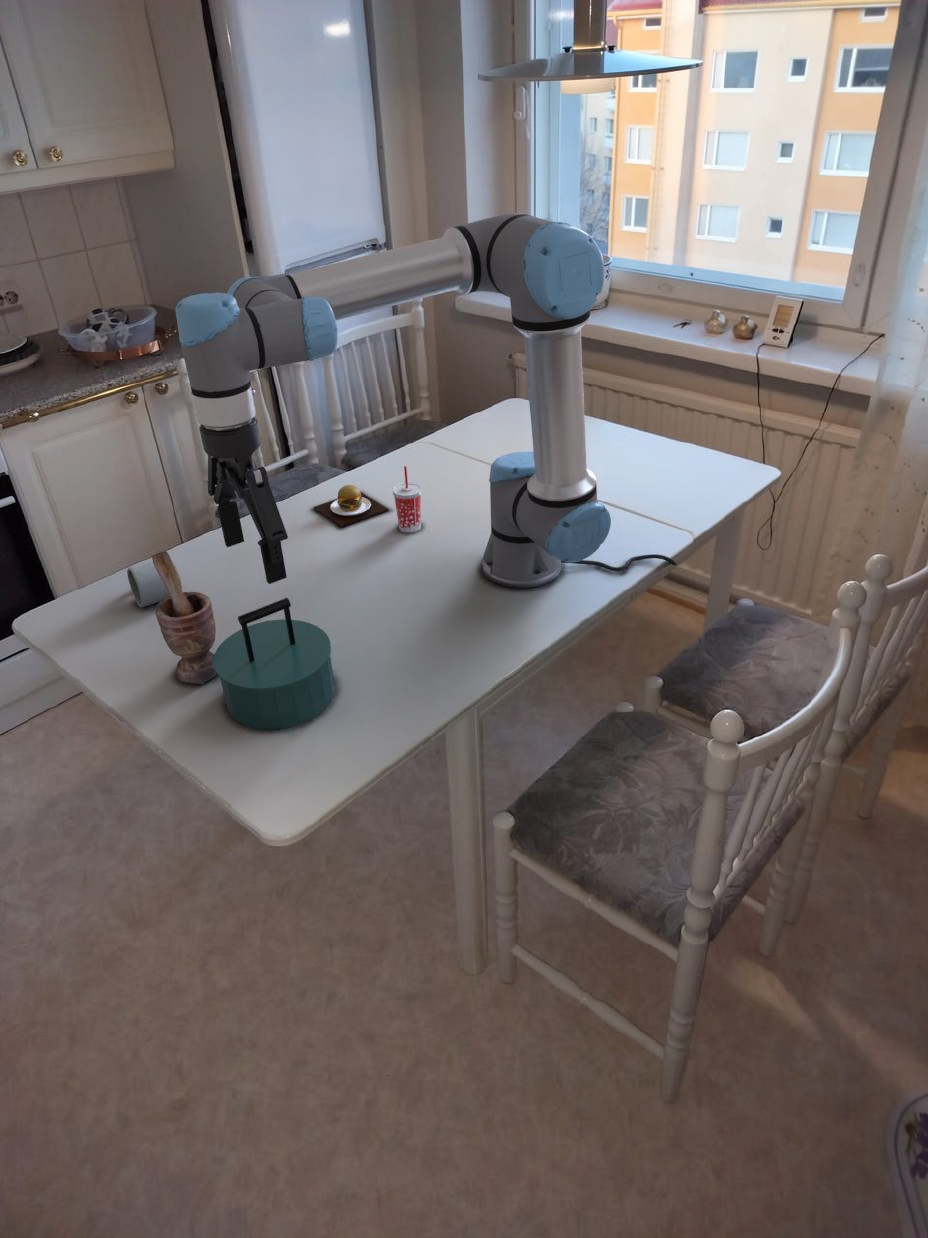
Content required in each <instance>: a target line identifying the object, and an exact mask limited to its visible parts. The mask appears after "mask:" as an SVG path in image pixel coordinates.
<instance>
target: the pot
mask: <svg viewBox="0 0 928 1238" xmlns="http://www.w3.org/2000/svg"><path fill="white" fill-rule="evenodd" d="M220 682H221V687H222V691H223V695H224V699H225V704H226V708H227V711H228V712H229V714H230V715H231V717H232V718H233V719H234V720H235V721H237V722H238V723H239V724H242V725H244V726H246V727H249V728H252V729H257V730H265V731H269V730H270V731H273V730H283V729H288V728H293V727H296V726H299V725H302V724H304V723H306V722H309V721H310V720H312V719H314V718H316V717H317V716H318V715H320V714H321V713H322V712H323V711H325V710H326V708H327V707H328V706H329V704H330V703H331V702H332V700H333V698H334V694H335V677H334V672H333V664H332V657H331V656H330V657H329V659H328V661H327V662H326V664H325V665H324V666H323V667H322V668H321V669H320V670H319V671H318V672H317V673H315V674H314V675H313V676H311V677H309V678H308V679H306V680H304V681H302V682H300V683H297V684H295V685H292V686H289V687H285V688H281V689H275V690H267V691H252V690H244V689H239V688H236V687H233V686H231V685H229V684H227V683H225V682H224V681H222V680H221V679H220Z"/></svg>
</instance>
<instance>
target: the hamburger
mask: <svg viewBox="0 0 928 1238" xmlns="http://www.w3.org/2000/svg"><path fill="white" fill-rule="evenodd" d="M313 509H314V510H315V511H316V512H318V513H320V514H321V515H322V516H324V517H326V519H328V520H330V521H331V522H333V523H334V524H336V525H337V526H338V527H340V528H341V529H343V528H345V527H346V528H347V527H348V526H351V525H355V524H357V523H359V522H362V521H365V520H367V519H370V518H373V517H376V516H379V515H382V514H384V513H386V512H389V510H390V509H389V508H388V507H386V506H384V505H383V504H381V503H379V502H378V501H376V500H375V499H374V498H371V497H370V496H368V495H367V494H365V493H363V492H362V491H361V490H360V488H359V487H358V486H355V485H353V484H346V485H344V486H342V487H340V488H339V490H338V492H337V498H335V499H333V500H332V499H331V500H329V501H327V502H324V503H321V504H318V505H316V506H313Z"/></svg>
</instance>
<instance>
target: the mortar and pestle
mask: <svg viewBox="0 0 928 1238" xmlns="http://www.w3.org/2000/svg"><path fill="white" fill-rule="evenodd" d="M151 560H152V562H153V564H154V566H155V568H156V570H157V572H158V574H159V576H160V578H161V580H162V581H163V583H164V585H165V587H166V589H167V591H168V593H169V595H170V596H169V597H167V598H165V599H163V600H162V601H160V602H157V605H156V606H155V608H154V614H155V616H156V620H157V623H158V625H159V628H160V633H161V634H162V638H163V640H164V642H165V644H166V645H167V647H168V648H169V650H170V651H171V652H172V653H173V654H174V655H175V656H178V657H180V659H179V660H178V662H177V665H176V667H175V675H176V677H177V679H178V680H179V681H181V682H182V683H186V684H201V685H203V684H205V683H206V682H208V681H209V680H211V679H213V678H214V677H216V676H218V675H217V674H216V672H215V669H214V665H213V658H214V655H215V653H213V652H211V651H210V650H211V649H212V648H213V647H214V645H215V641H216V633H217V631H216V627H217V626H216V619H215V616H214V610H213V604H212V600H211V598H210V597H209V596H208V595H207V594H206V593H203V592H199V591H198V592H197V591H188V592H187V591H184V592H183V588H182V589H181V587H180V585H179V582H178V579H177V576H176V572H175V569H174V565H173V563H174V561H173V560H172V558H171V556H170V554H169V553H168V551H166V550H164V551H160V552H158V553H155V554H154V555H151Z"/></svg>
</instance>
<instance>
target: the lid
mask: <svg viewBox="0 0 928 1238" xmlns="http://www.w3.org/2000/svg"><path fill="white" fill-rule="evenodd" d="M290 607H292V604H291V601H290V599H289V598H288V597H285V598H281V599H279V600H277V601H274V602H272V603H270V604H267V605H264V606H261V607H259V608H256V609H254V610H252V611H249V612H246V613H244V614H240V615H238V616H237V621H238V623H239V625H240V627H241V629H239V630H237V631H235V632H234V633H232V634H231V635H229V636H228V637H226V638H225V639H224V640H223V641H222V642H221V643H220V644H219V646H218V647H217V649H216V650H215V651H214V658H213V665H214V669H215V672H216V674H217V675H216V676H217V677H218V678H219V679H220V681H221V680H222V681H224V682H225V683H227V684H229V685H231V686H233V687H236V688H239V689H244V690H252V691H267V690H275V689H281V688H285V687H289V686H292V685H295V684H297V683H300V682H302V681H304V680H306V679H308V678H309V677H311V676H313V675H314V674H315V673H317V672H318V671H319V670H320V669H321V668H322V667H323V666H324V665H325V664H326V662H327V661H328V659H329V657H331V653H332V643H331V642H332V641H331V639H330V637H329V636H328V634H327V632H325V631H324V630H323V628H321V627H319V626H317V625H315V624H313V623H311V622H308V621H304V620H300V619H299V620H298V619H292V616H291V610H290ZM281 611H283V613H284V618H283V619H282V618H281V619H271V620H266V621H260V622H257V623H253V622H255V621H259V620H261V619H263V618H265V617H268V616H270V615H273V614H275V613H278V612H281ZM250 623H253V624H251V625H249V624H250Z"/></svg>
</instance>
